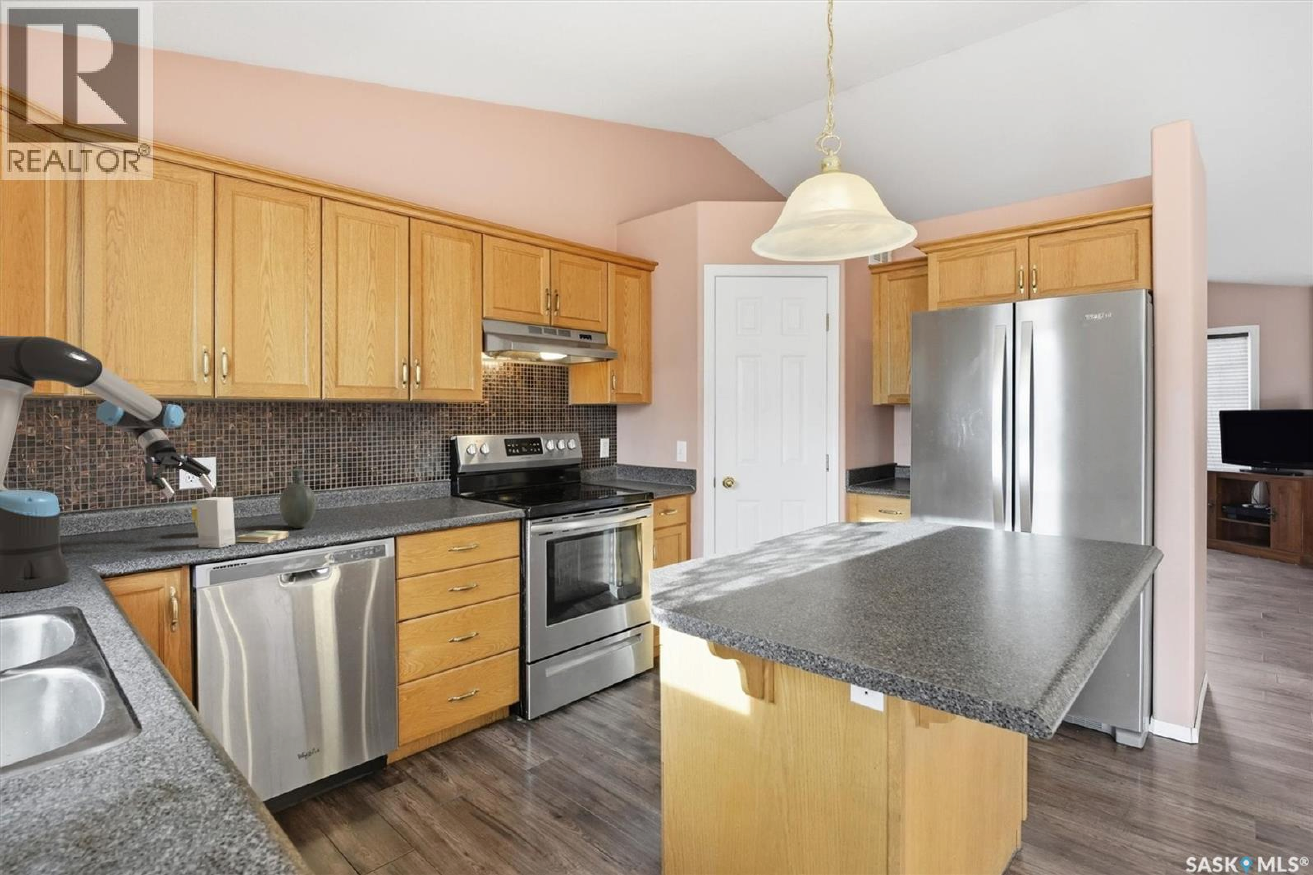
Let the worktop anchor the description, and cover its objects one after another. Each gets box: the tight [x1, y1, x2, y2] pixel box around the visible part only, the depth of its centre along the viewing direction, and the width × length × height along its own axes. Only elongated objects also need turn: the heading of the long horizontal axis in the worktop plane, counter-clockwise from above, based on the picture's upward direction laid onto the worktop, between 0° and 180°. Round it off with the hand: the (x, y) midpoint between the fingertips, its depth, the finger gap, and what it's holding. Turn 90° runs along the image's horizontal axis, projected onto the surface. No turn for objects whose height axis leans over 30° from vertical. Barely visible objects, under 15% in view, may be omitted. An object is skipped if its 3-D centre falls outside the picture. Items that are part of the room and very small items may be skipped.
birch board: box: [235, 530, 290, 544], centre depth 221 cm, size 11×11×2 cm
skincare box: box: [195, 496, 236, 549], centre depth 210 cm, size 8×7×16 cm
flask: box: [278, 468, 317, 529], centre depth 244 cm, size 12×17×22 cm
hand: (192, 493), depth 213 cm, fingers open, 13 cm apart
